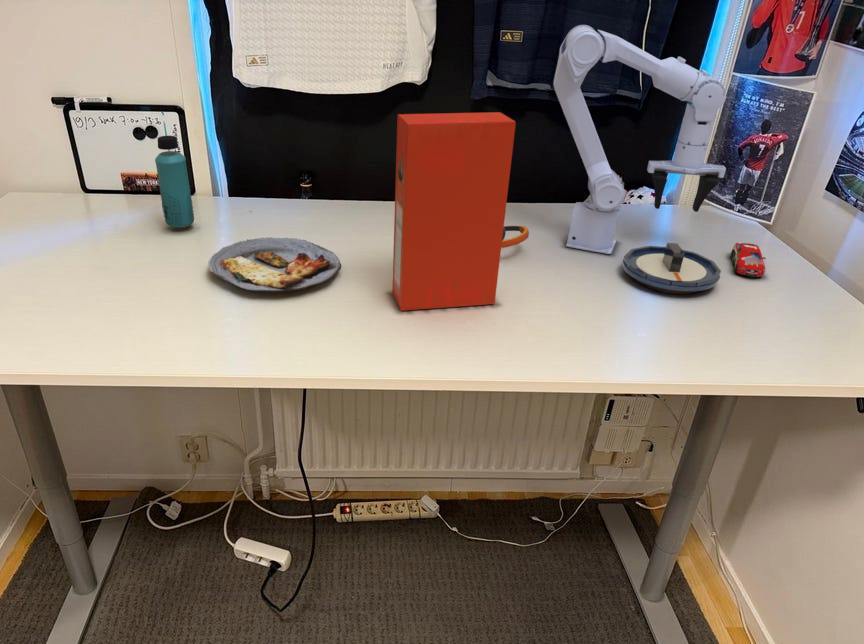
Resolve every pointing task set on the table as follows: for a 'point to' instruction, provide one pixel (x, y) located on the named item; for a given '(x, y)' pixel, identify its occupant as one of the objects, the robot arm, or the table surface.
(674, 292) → the turntable base
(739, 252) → the race car
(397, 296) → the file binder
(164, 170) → the beverage bottle
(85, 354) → the table surface
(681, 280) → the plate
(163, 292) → the table surface
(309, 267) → the food plate
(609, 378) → the table surface
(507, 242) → the headphones
